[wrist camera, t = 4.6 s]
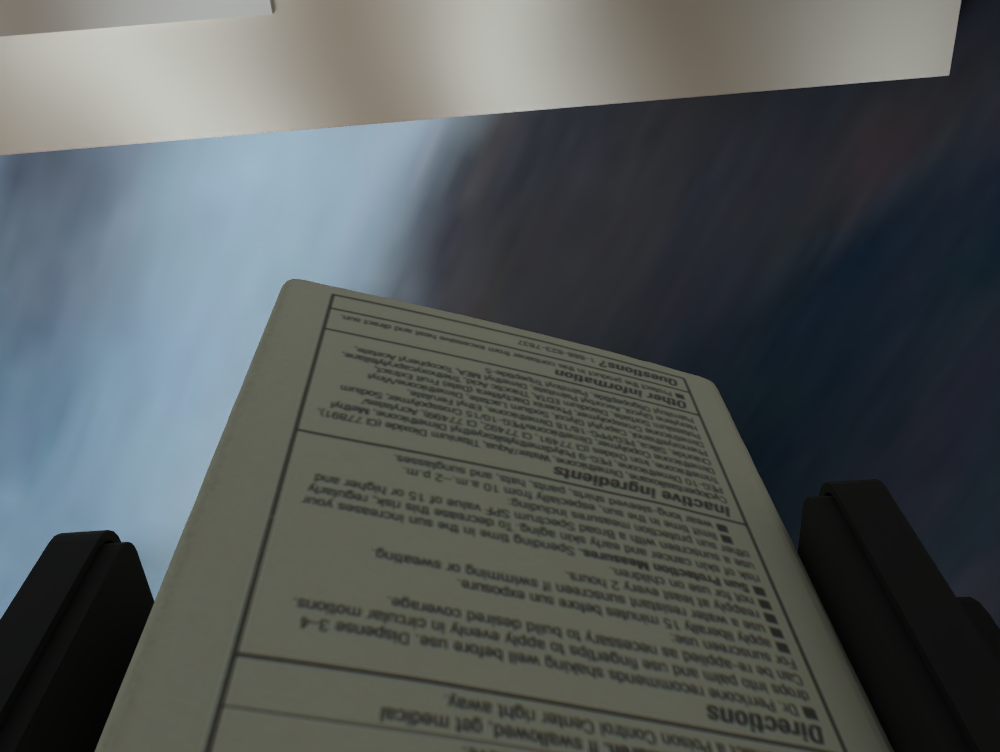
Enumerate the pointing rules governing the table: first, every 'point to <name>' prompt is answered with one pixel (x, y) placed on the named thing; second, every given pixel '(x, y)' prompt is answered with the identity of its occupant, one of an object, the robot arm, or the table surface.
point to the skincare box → (480, 559)
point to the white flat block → (422, 59)
